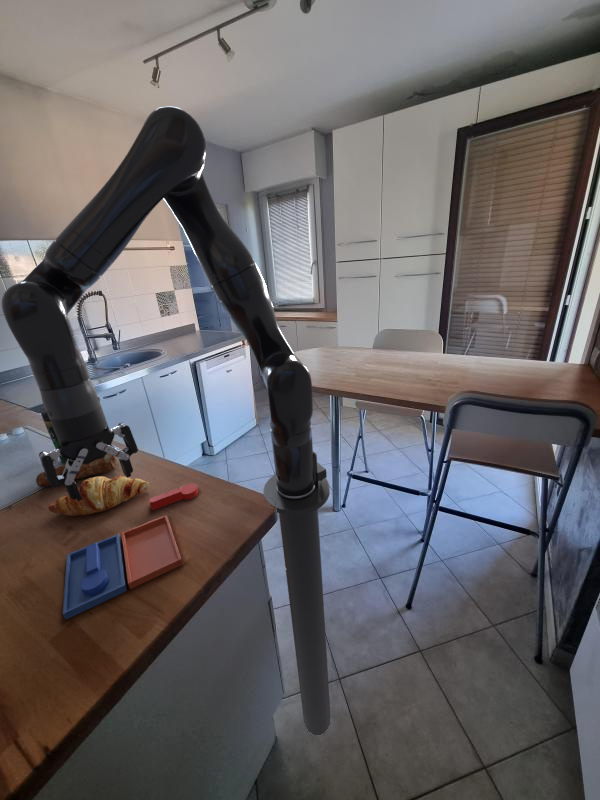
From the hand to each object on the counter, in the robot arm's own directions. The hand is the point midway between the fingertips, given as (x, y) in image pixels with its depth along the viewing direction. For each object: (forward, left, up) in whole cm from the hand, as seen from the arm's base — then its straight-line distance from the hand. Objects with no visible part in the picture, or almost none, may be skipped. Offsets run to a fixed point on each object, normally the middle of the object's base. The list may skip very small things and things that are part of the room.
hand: (104, 486), depth 62 cm
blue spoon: (+5, +5, -14) cm, 15 cm away
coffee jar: (+9, -45, -14) cm, 48 cm away
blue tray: (+5, +5, -14) cm, 16 cm away
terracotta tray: (-4, +5, -14) cm, 16 cm away
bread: (+8, -33, -14) cm, 37 cm away
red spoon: (-12, -8, -14) cm, 20 cm away
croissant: (+3, -17, -14) cm, 22 cm away
